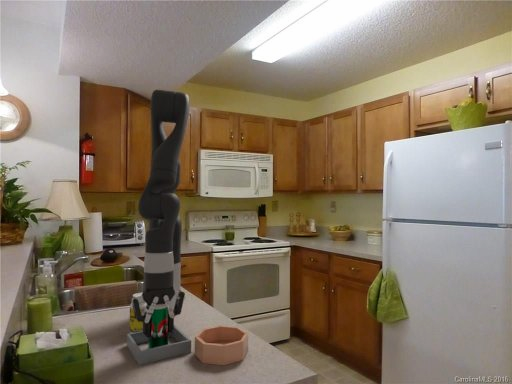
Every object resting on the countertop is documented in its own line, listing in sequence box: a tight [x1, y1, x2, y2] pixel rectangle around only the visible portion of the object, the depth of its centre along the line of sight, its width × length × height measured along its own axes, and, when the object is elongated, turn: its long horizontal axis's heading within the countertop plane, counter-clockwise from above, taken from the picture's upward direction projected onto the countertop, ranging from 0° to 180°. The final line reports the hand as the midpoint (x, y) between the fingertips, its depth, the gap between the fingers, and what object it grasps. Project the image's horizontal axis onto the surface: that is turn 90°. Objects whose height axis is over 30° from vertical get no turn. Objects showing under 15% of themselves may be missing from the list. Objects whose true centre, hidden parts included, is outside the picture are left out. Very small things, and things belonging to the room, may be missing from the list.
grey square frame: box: [126, 324, 192, 366], centre depth 91 cm, size 13×13×3 cm
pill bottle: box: [129, 292, 147, 334], centre depth 102 cm, size 6×6×11 cm
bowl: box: [194, 325, 249, 366], centre depth 89 cm, size 13×13×4 cm
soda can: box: [147, 303, 169, 349], centre depth 91 cm, size 5×5×12 cm
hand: (158, 333), depth 91 cm, fingers closed on soda can, 5 cm apart
